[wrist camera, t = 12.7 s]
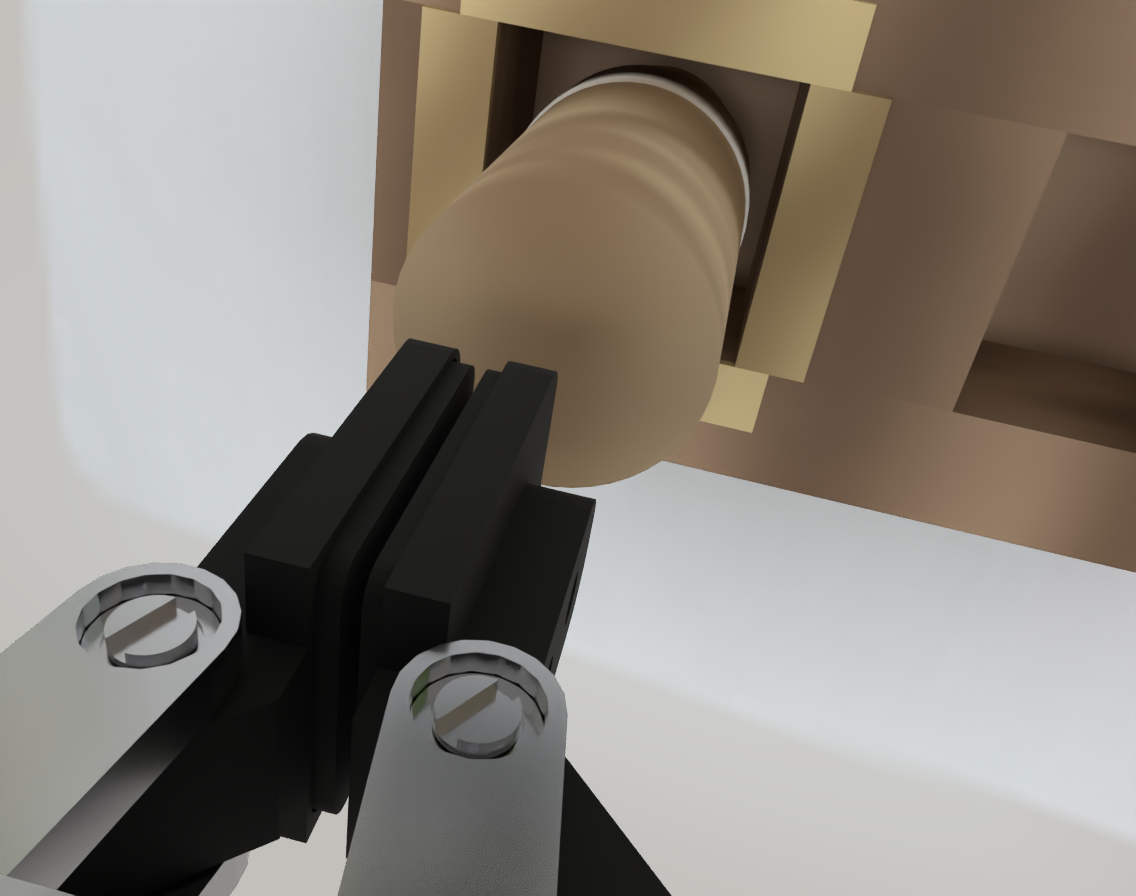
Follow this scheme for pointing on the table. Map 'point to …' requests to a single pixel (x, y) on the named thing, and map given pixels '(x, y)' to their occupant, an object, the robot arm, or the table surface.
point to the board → (855, 234)
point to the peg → (596, 265)
